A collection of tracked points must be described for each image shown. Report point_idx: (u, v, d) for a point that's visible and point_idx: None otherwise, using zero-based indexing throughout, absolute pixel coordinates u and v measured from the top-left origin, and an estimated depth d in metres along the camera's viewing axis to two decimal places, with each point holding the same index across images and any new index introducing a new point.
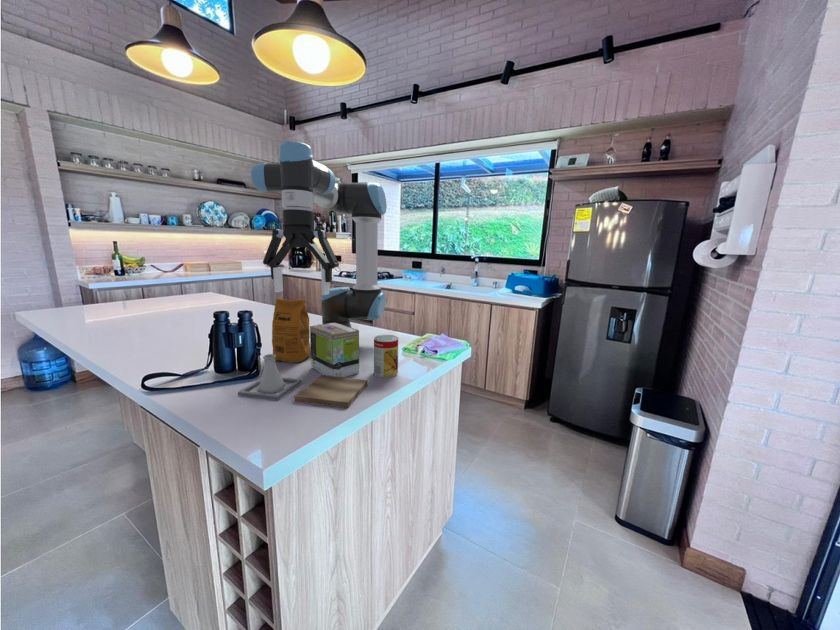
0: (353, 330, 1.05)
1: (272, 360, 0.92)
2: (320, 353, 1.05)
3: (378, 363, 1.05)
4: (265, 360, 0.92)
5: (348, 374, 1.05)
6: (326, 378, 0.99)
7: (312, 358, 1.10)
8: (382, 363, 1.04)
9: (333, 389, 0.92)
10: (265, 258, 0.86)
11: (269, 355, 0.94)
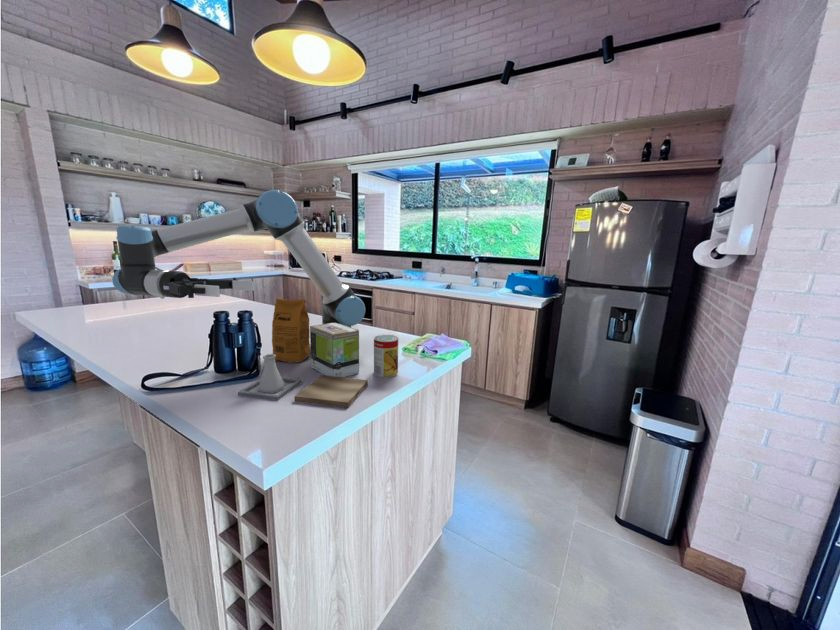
0: (353, 330, 1.05)
1: (272, 360, 0.92)
2: (320, 353, 1.05)
3: (378, 363, 1.05)
4: (265, 360, 0.92)
5: (348, 374, 1.05)
6: (326, 378, 0.99)
7: (312, 358, 1.10)
8: (382, 363, 1.04)
9: (333, 389, 0.92)
10: None
11: (269, 355, 0.94)
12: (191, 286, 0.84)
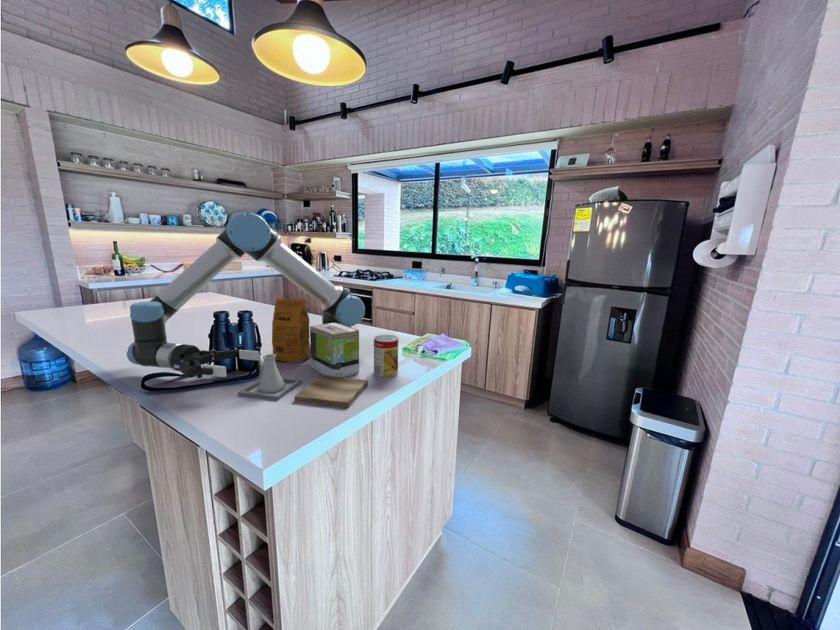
0: (353, 330, 1.05)
1: (272, 360, 0.92)
2: (320, 353, 1.05)
3: (378, 363, 1.05)
4: (265, 360, 0.92)
5: (348, 374, 1.05)
6: (326, 378, 0.99)
7: (312, 358, 1.10)
8: (382, 363, 1.04)
9: (333, 389, 0.92)
10: None
11: (269, 355, 0.94)
12: (199, 367, 0.88)
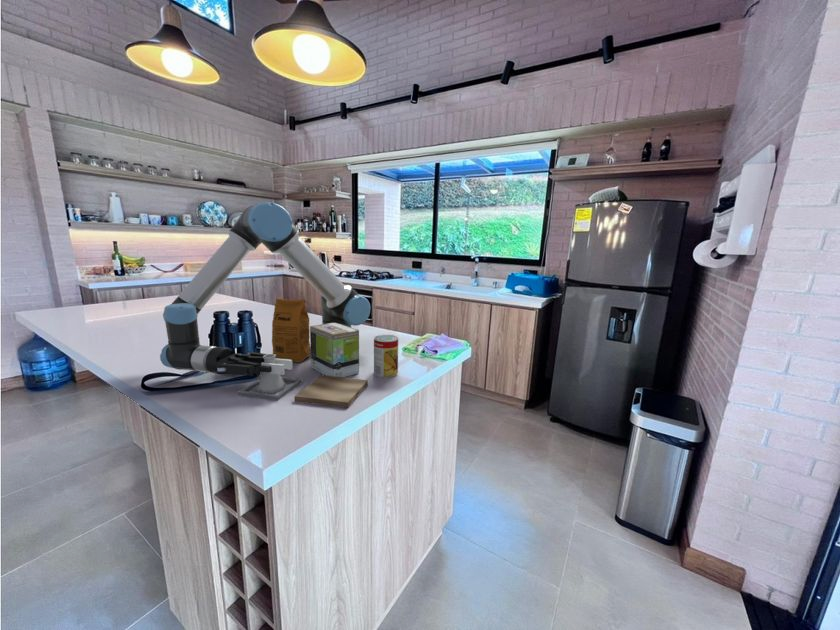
0: (353, 330, 1.05)
1: (272, 360, 0.92)
2: (320, 353, 1.05)
3: (378, 363, 1.05)
4: (265, 360, 0.92)
5: (348, 374, 1.05)
6: (326, 378, 0.99)
7: (312, 358, 1.10)
8: (382, 363, 1.04)
9: (333, 389, 0.92)
10: None
11: (269, 355, 0.94)
12: (259, 365, 0.90)
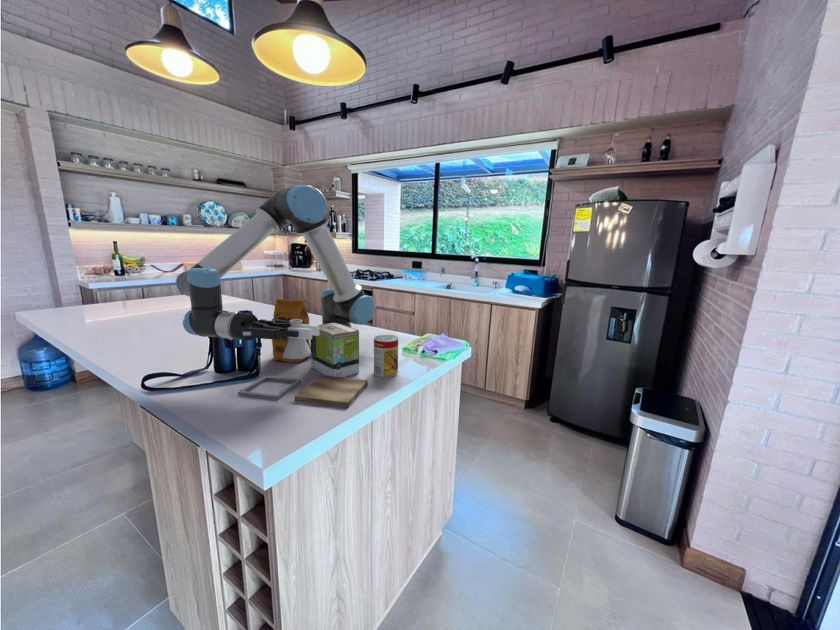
0: (353, 330, 1.05)
1: (299, 325, 0.88)
2: (320, 353, 1.05)
3: (378, 363, 1.05)
4: (291, 325, 0.88)
5: (348, 374, 1.05)
6: (326, 378, 0.99)
7: (312, 358, 1.10)
8: (382, 363, 1.04)
9: (333, 389, 0.92)
10: None
11: (295, 320, 0.90)
12: (286, 329, 0.87)
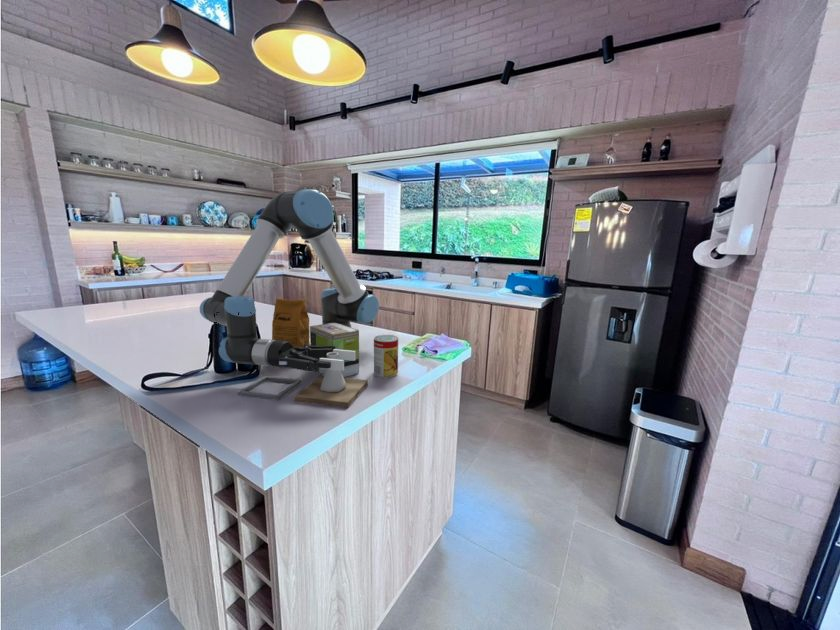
0: (353, 330, 1.05)
1: (335, 358, 0.90)
2: None
3: (378, 363, 1.05)
4: (328, 358, 0.90)
5: (348, 374, 1.05)
6: None
7: None
8: (382, 363, 1.04)
9: None
10: None
11: (331, 353, 0.92)
12: (318, 360, 0.87)
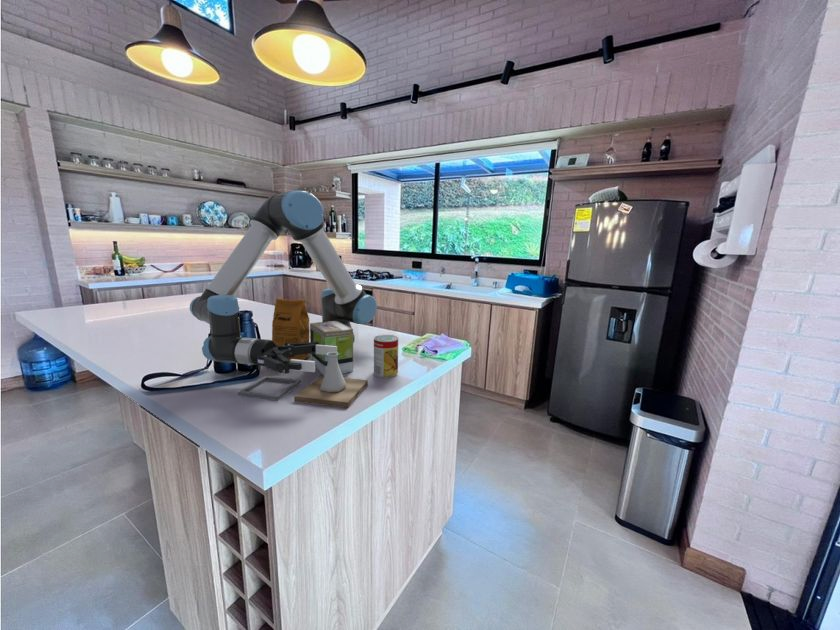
0: (347, 329, 1.06)
1: (335, 358, 0.90)
2: None
3: (378, 363, 1.05)
4: (328, 358, 0.90)
5: (341, 372, 1.07)
6: None
7: (311, 354, 1.14)
8: (382, 363, 1.04)
9: None
10: None
11: (331, 353, 0.92)
12: (288, 362, 0.85)
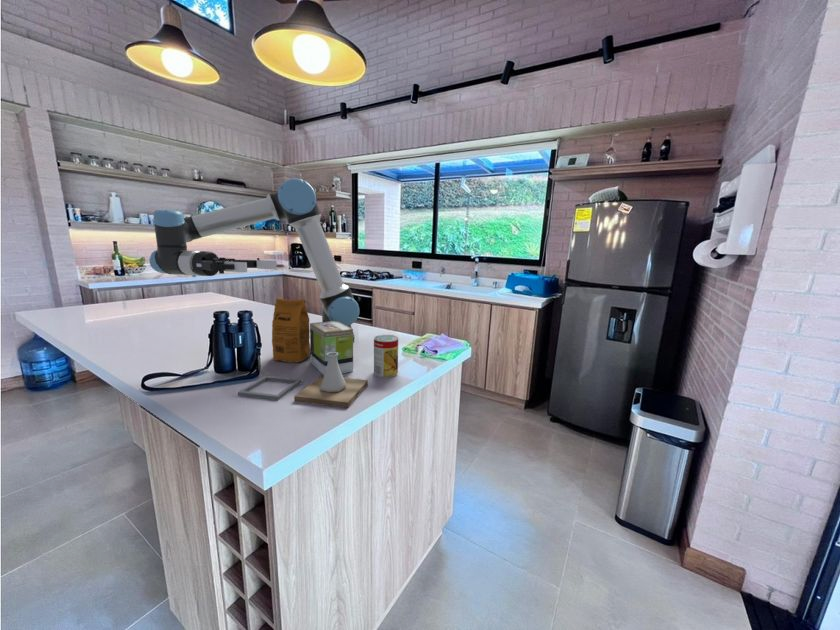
0: (347, 329, 1.06)
1: (335, 358, 0.90)
2: (316, 350, 1.08)
3: (378, 363, 1.05)
4: (328, 358, 0.90)
5: (341, 372, 1.07)
6: None
7: (311, 354, 1.14)
8: (382, 363, 1.04)
9: None
10: None
11: (331, 353, 0.92)
12: (222, 263, 0.92)
